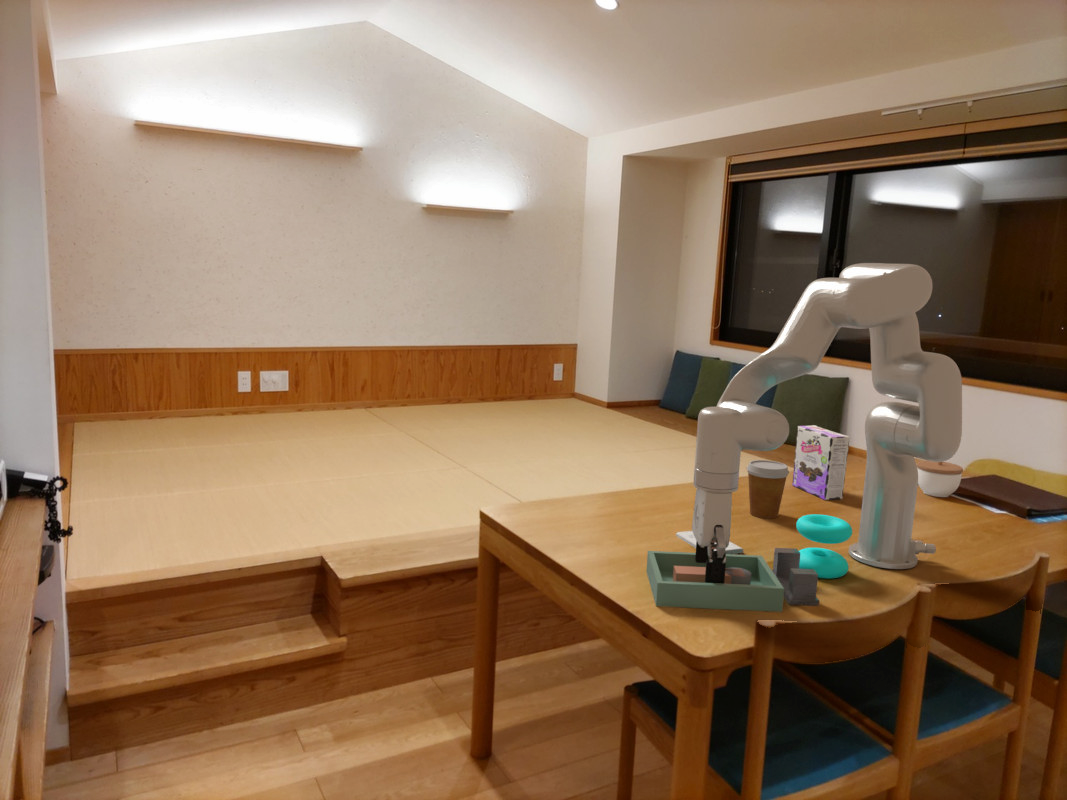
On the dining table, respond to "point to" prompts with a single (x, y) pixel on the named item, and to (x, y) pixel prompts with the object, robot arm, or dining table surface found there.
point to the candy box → (820, 462)
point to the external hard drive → (731, 548)
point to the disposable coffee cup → (766, 487)
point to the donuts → (828, 533)
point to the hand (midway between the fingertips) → (709, 572)
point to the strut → (698, 575)
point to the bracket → (795, 578)
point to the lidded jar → (938, 477)
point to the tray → (714, 584)
